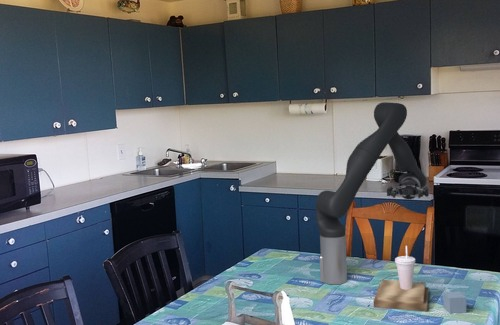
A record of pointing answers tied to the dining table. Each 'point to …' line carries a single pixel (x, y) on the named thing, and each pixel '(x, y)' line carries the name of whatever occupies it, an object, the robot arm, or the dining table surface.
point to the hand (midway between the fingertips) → (406, 195)
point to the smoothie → (405, 270)
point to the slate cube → (454, 302)
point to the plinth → (401, 304)
